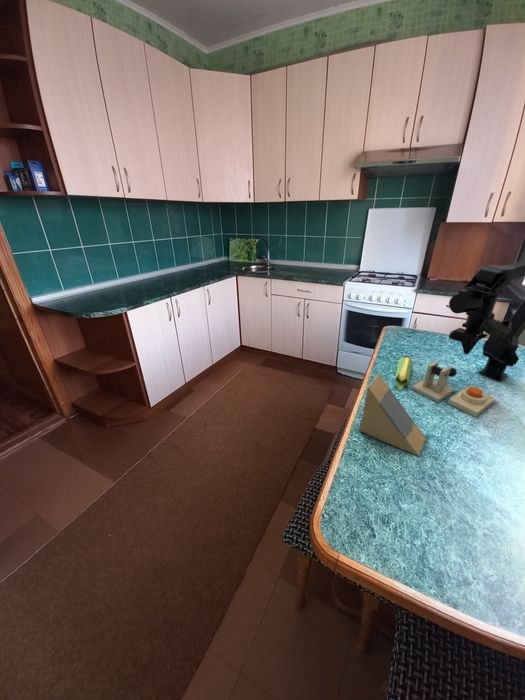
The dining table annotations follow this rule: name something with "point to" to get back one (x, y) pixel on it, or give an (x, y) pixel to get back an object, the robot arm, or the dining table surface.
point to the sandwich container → (389, 419)
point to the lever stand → (434, 384)
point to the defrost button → (475, 392)
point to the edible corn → (403, 371)
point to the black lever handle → (438, 369)
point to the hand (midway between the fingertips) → (466, 353)
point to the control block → (471, 402)
